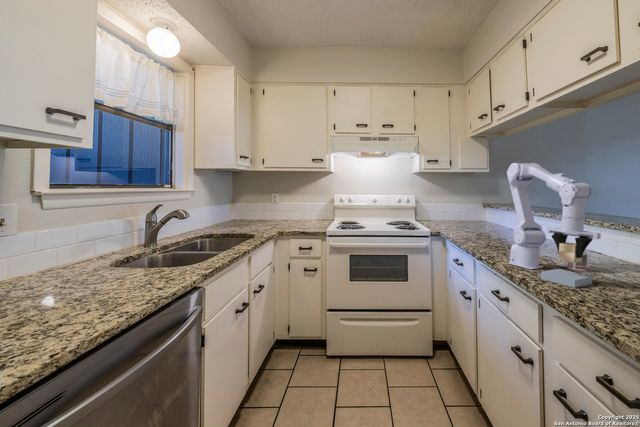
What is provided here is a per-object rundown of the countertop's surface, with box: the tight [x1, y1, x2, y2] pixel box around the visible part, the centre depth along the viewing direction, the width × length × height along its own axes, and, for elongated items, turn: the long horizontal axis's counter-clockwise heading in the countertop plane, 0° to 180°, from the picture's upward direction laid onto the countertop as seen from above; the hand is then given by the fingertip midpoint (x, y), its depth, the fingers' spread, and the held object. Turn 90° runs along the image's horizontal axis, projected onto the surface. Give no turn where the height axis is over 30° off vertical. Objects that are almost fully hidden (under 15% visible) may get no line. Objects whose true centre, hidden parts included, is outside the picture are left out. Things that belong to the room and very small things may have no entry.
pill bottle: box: [567, 250, 588, 272], centre depth 110 cm, size 5×5×10 cm
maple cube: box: [558, 241, 582, 263], centre depth 96 cm, size 4×4×6 cm
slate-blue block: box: [540, 268, 593, 289], centre depth 96 cm, size 10×10×3 cm
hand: (569, 256), depth 96 cm, fingers closed on maple cube, 4 cm apart
